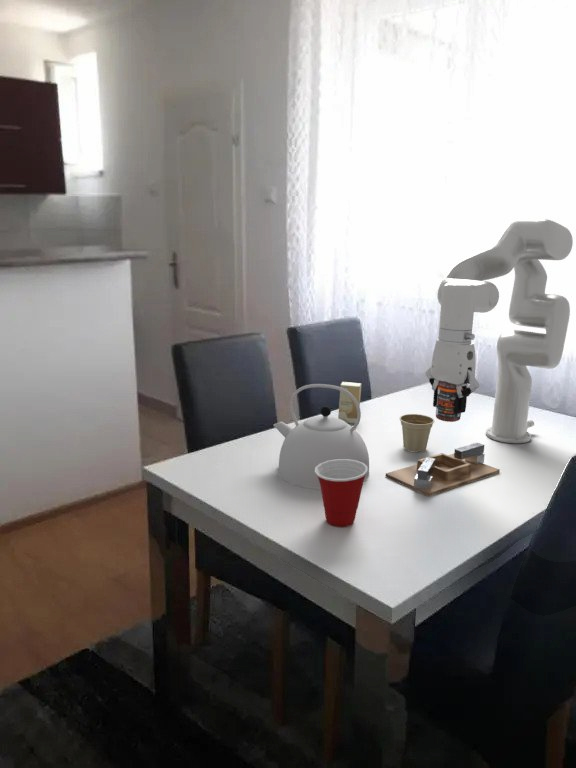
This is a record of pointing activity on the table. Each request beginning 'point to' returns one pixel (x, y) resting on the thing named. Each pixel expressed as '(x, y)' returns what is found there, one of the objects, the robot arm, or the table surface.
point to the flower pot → (416, 431)
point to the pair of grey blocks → (468, 453)
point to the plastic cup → (341, 489)
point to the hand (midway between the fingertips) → (448, 408)
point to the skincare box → (349, 402)
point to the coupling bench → (443, 473)
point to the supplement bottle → (447, 402)
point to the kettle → (318, 443)
